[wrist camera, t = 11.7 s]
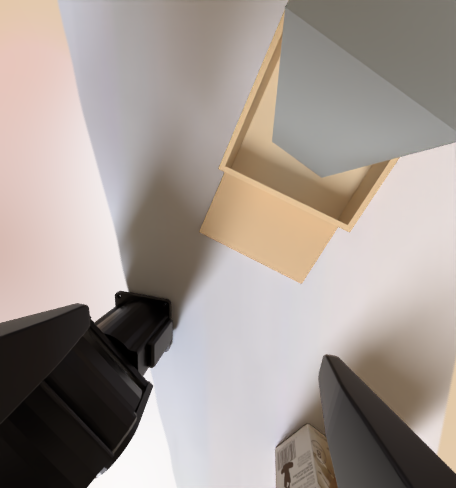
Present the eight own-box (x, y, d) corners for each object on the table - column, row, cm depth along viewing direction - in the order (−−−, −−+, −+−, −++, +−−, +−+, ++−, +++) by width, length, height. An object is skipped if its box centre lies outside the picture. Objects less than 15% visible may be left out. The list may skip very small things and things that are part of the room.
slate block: (271, 141, 17) (284, 7, 5) (305, 93, 16) (439, -258, 4) (321, 177, 17) (467, 139, 5) (358, 132, 16) (683, -82, 3)
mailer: (200, 231, 21) (189, 237, 18) (285, 33, 16) (289, -2, 13) (300, 282, 20) (306, 297, 17) (421, 92, 15) (458, 69, 12)
